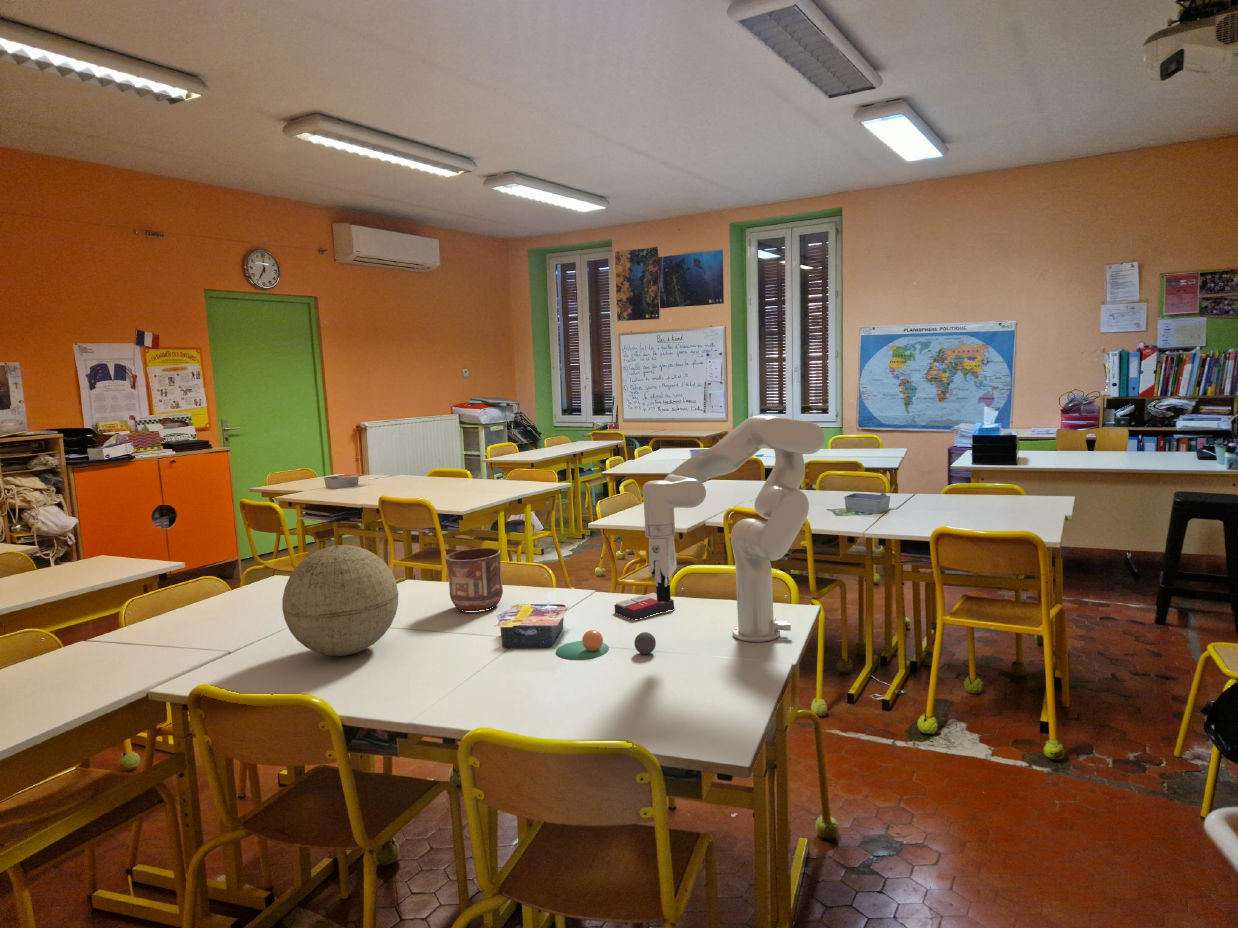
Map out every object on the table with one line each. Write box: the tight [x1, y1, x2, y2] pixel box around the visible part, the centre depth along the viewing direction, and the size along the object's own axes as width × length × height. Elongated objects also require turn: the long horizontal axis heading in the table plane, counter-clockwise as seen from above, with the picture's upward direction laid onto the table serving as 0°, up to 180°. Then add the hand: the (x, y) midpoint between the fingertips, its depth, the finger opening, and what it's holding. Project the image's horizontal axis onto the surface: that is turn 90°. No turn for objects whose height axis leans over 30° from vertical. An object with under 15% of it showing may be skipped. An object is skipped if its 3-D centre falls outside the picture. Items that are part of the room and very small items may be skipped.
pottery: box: [444, 547, 504, 611], centre depth 245 cm, size 18×18×18 cm
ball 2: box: [634, 631, 657, 655], centre depth 194 cm, size 6×6×6 cm
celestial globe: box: [281, 544, 399, 657], centre depth 207 cm, size 30×30×30 cm
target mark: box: [555, 640, 610, 661], centre depth 200 cm, size 14×14×1 cm
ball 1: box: [581, 629, 604, 651], centre depth 198 cm, size 6×6×6 cm
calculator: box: [614, 592, 675, 621], centre depth 230 cm, size 11×4×15 cm
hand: (663, 600), depth 191 cm, fingers closed
